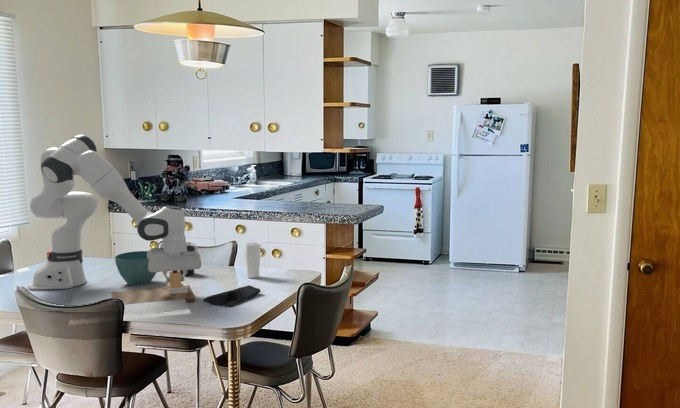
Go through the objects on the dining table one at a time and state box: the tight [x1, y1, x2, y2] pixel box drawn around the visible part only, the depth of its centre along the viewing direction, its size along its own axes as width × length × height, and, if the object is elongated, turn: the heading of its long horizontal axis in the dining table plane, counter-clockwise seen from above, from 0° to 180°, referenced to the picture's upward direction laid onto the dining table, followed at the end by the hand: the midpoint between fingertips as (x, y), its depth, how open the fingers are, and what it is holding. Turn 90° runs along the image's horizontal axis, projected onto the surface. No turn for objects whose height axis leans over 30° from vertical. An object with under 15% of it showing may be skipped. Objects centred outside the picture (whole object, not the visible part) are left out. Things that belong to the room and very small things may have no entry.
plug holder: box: [166, 282, 188, 294], centre depth 247 cm, size 7×8×2 cm
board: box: [110, 284, 197, 305], centre depth 241 cm, size 30×20×2 cm, turn 110°
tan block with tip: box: [168, 270, 182, 288], centre depth 246 cm, size 4×4×10 cm
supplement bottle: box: [178, 269, 195, 277], centre depth 280 cm, size 7×7×12 cm
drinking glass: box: [244, 242, 262, 279], centre depth 275 cm, size 7×7×15 cm
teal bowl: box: [114, 250, 157, 287], centre depth 263 cm, size 18×18×12 cm
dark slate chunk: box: [203, 285, 261, 307], centre depth 242 cm, size 15×22×5 cm
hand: (175, 281), depth 246 cm, fingers closed on tan block with tip, 4 cm apart
